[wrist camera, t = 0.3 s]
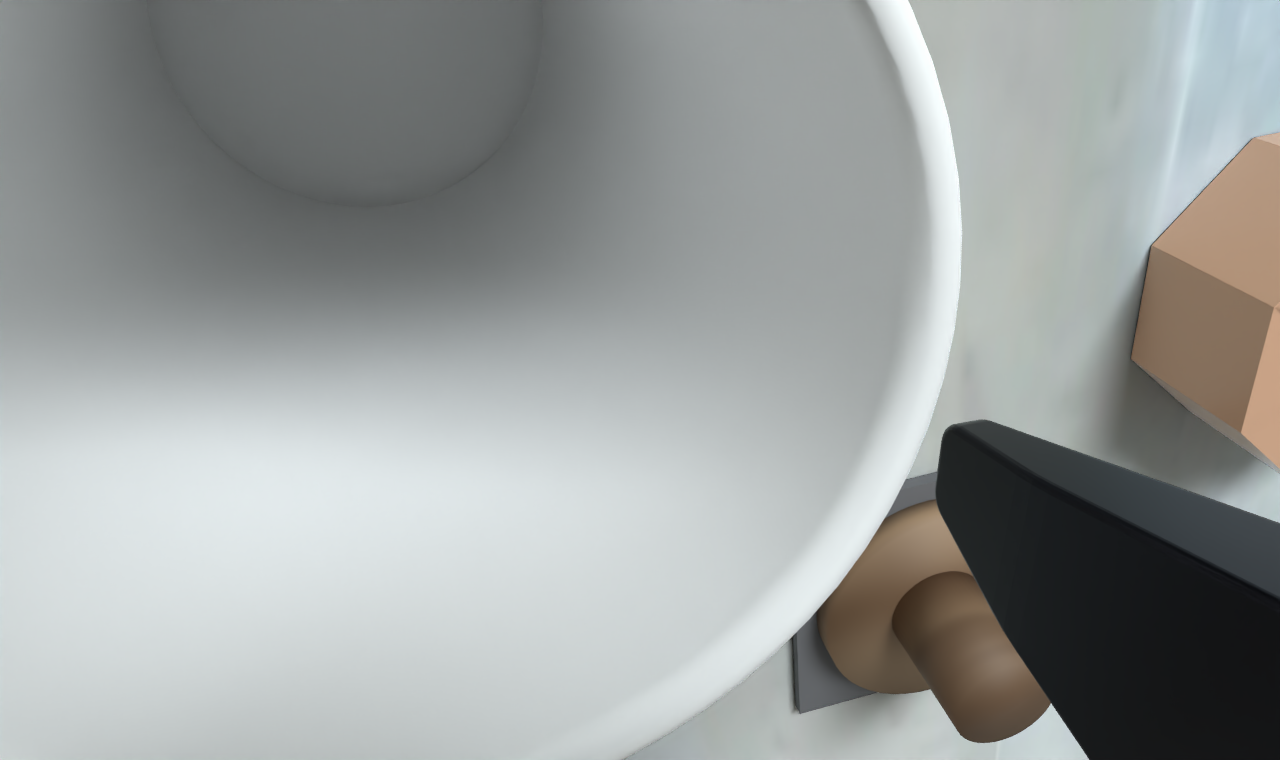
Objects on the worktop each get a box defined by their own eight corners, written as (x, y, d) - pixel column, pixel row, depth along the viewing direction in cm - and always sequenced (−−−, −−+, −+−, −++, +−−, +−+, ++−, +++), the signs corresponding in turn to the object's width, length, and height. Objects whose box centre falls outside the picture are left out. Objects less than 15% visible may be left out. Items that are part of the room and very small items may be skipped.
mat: (1023, 641, 34) (1030, 649, 34) (795, 705, 33) (799, 713, 33) (1051, 444, 30) (1059, 450, 29) (787, 508, 29) (792, 516, 28)
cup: (562, 193, 22) (892, 720, 9) (194, 230, 20) (-99, 967, 7) (538, -215, 18) (1092, -398, 5) (75, -213, 16) (-1221, -509, 3)
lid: (1014, 640, 34) (1104, 753, 29) (818, 694, 33) (881, 820, 28) (1036, 473, 30) (1144, 574, 25) (814, 528, 29) (887, 644, 24)
